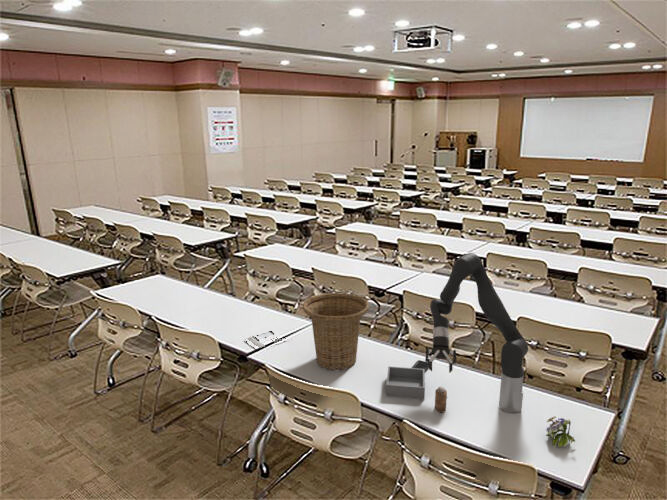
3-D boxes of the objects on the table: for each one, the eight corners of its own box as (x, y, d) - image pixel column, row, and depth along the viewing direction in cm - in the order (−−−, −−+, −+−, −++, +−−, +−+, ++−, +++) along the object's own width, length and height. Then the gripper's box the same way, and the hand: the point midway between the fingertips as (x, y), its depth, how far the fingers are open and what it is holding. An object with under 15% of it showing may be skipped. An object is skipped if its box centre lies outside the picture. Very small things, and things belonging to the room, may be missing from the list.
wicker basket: (333, 384, 241) (332, 322, 233) (291, 360, 267) (289, 303, 258) (381, 361, 264) (382, 304, 255) (338, 341, 289) (338, 288, 280)
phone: (407, 372, 251) (418, 359, 264) (407, 374, 252) (418, 361, 264) (422, 375, 247) (432, 363, 260) (422, 377, 248) (432, 365, 260)
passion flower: (548, 447, 202) (549, 416, 206) (577, 451, 196) (577, 420, 200) (542, 445, 194) (543, 413, 198) (572, 450, 187) (573, 417, 191)
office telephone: (258, 348, 277) (240, 337, 292) (258, 352, 277) (241, 341, 292) (291, 336, 291) (273, 326, 306) (291, 340, 292) (273, 330, 307)
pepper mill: (445, 406, 222) (446, 385, 219) (446, 412, 217) (447, 391, 214) (434, 405, 223) (435, 385, 220) (434, 411, 218) (435, 391, 215)
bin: (424, 379, 245) (424, 368, 243) (424, 399, 228) (424, 387, 226) (388, 377, 248) (388, 366, 246) (385, 396, 231) (386, 384, 229)
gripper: (426, 334, 232) (425, 367, 224) (456, 336, 229) (457, 370, 221) (425, 339, 238) (424, 372, 230) (455, 341, 236) (455, 374, 228)
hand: (440, 371), depth 226 cm, fingers open, 8 cm apart
